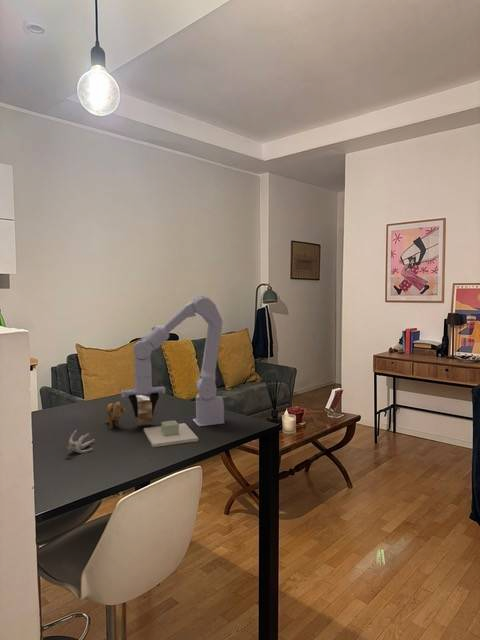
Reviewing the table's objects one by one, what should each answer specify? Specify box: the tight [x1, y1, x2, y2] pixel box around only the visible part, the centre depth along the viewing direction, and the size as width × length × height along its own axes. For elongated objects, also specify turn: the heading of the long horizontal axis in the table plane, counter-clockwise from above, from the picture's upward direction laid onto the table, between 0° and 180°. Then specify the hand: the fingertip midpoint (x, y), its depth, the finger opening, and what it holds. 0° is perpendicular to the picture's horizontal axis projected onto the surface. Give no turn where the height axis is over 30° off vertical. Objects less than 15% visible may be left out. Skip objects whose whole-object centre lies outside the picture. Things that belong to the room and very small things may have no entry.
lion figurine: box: [104, 401, 127, 429], centre depth 158 cm, size 15×5×9 cm, turn 34°
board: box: [143, 419, 199, 448], centre depth 146 cm, size 14×16×4 cm
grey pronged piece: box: [64, 429, 96, 455], centre depth 134 cm, size 8×5×12 cm
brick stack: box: [135, 400, 153, 424], centre depth 155 cm, size 5×5×6 cm
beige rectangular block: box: [136, 395, 150, 401], centre depth 174 cm, size 15×11×6 cm
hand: (144, 415), depth 155 cm, fingers closed on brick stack, 5 cm apart
